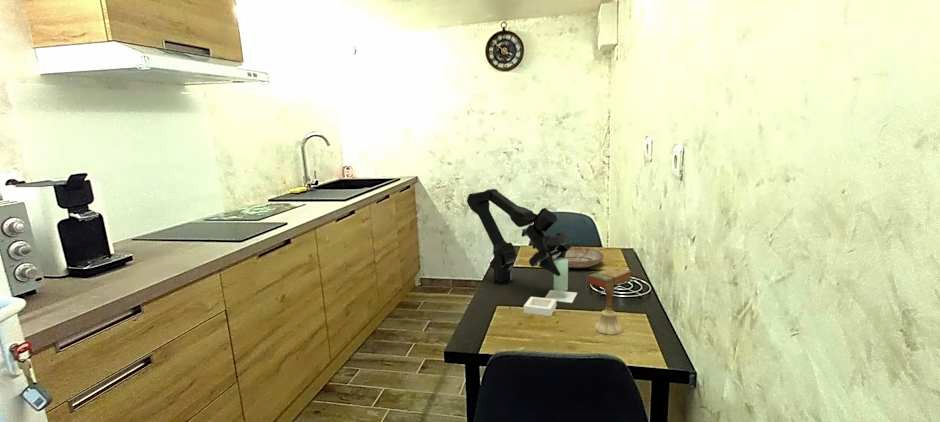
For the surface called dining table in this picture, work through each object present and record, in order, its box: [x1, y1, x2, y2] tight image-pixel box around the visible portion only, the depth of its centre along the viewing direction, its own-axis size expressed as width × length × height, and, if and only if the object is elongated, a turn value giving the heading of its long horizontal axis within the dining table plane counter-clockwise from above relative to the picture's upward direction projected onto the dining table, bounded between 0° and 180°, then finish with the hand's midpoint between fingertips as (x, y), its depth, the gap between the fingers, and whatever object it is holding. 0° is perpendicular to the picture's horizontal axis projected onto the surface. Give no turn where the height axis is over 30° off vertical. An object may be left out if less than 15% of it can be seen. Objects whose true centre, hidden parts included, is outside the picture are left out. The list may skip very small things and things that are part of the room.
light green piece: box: [553, 257, 569, 292], centre depth 168 cm, size 5×5×11 cm
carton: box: [587, 266, 631, 289], centre depth 185 cm, size 8×16×4 cm, turn 128°
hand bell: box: [594, 279, 623, 336], centre depth 142 cm, size 8×8×16 cm
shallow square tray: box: [523, 296, 557, 317], centre depth 159 cm, size 9×9×3 cm
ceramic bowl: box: [551, 247, 605, 269], centre depth 209 cm, size 23×24×5 cm
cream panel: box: [544, 289, 578, 304], centre depth 170 cm, size 10×10×1 cm
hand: (563, 273), depth 167 cm, fingers closed on light green piece, 5 cm apart
